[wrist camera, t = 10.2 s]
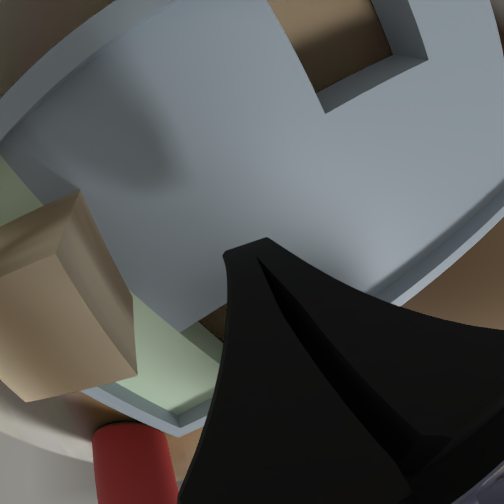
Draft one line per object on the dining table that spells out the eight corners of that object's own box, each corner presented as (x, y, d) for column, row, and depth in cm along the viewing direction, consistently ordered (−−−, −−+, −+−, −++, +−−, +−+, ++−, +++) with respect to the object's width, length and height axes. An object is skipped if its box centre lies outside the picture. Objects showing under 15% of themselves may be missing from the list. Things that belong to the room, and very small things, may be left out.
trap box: (489, 177, 20) (522, 197, 17) (169, 395, 21) (178, 437, 18) (424, -76, 8) (470, -83, 5) (-61, 208, 9) (-95, 247, 7)
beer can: (180, 428, 24) (217, 556, 15) (142, 454, 26) (167, 564, 16) (111, 410, 20) (135, 562, 11) (80, 439, 22) (96, 564, 12)
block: (80, 189, 10) (55, 253, 6) (132, 297, 13) (137, 375, 9) (-22, 238, 9) (-63, 307, 6) (38, 328, 12) (25, 402, 9)
